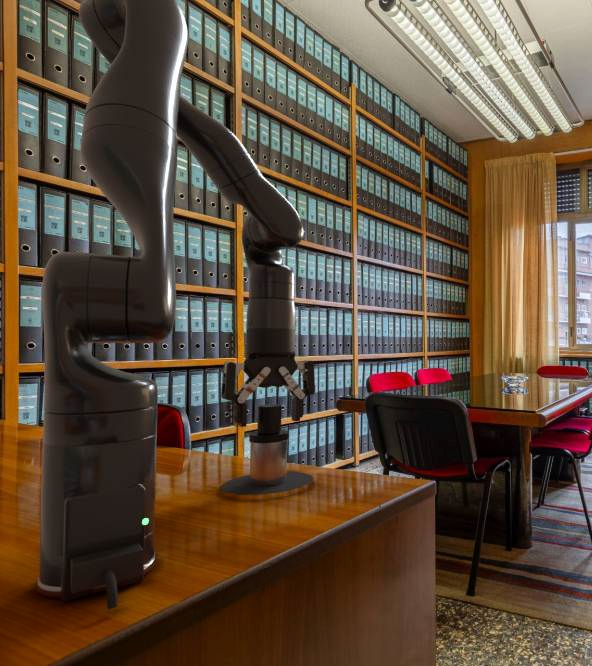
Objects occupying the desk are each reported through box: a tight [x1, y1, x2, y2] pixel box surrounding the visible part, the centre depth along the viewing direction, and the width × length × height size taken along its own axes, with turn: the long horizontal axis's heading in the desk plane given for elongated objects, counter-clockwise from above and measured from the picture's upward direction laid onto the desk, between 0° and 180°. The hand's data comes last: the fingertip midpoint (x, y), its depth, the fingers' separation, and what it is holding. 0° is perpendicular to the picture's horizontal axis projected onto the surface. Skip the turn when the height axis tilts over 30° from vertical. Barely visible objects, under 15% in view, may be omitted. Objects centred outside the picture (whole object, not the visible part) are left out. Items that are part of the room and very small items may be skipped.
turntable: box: [220, 470, 314, 496], centre depth 83 cm, size 14×14×1 cm
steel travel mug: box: [248, 403, 290, 487], centre depth 84 cm, size 8×6×13 cm
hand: (269, 423), depth 83 cm, fingers open, 8 cm apart
